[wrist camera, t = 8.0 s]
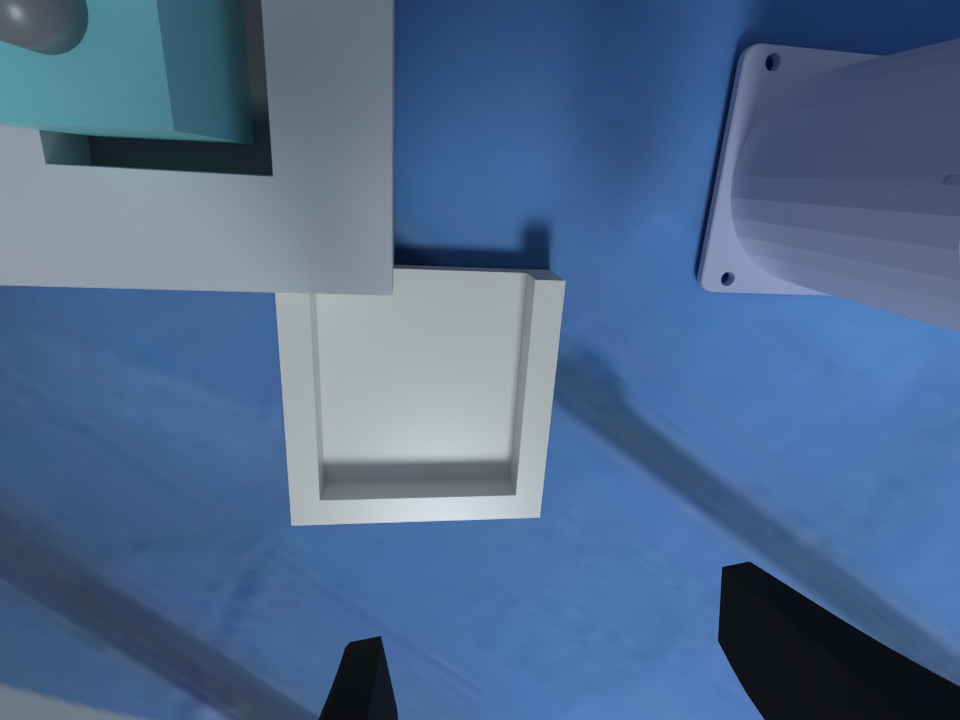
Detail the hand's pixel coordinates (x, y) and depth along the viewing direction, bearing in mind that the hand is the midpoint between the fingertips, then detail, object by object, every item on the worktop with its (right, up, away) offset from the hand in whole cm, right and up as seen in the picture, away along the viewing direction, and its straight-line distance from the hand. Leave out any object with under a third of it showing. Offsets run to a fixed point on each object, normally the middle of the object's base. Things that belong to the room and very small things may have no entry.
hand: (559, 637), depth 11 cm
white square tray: (-4, +5, +9) cm, 11 cm away
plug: (-10, +14, +4) cm, 18 cm away
